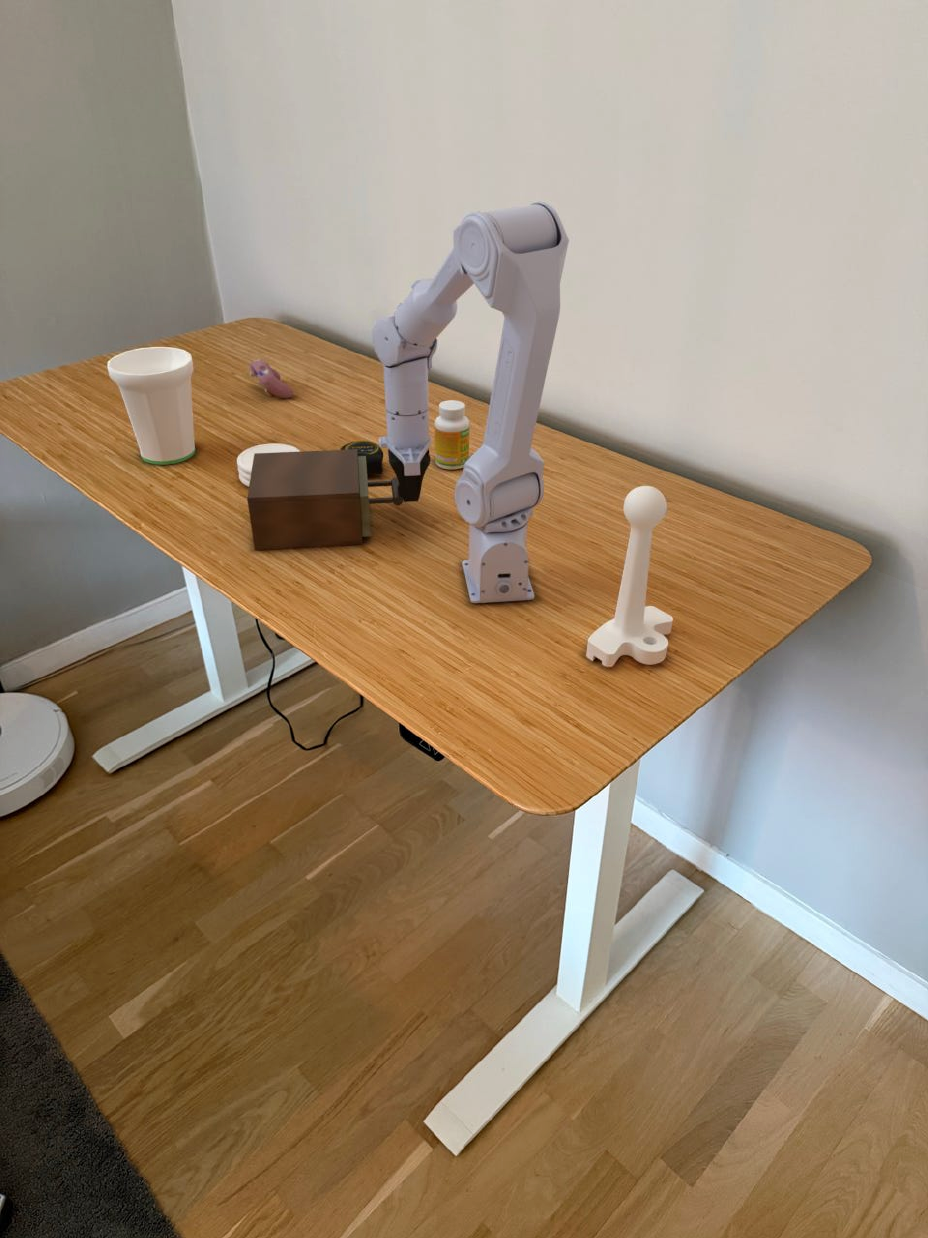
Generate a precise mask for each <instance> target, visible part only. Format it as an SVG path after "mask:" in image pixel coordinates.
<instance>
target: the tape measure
mask: <svg viewBox="0 0 928 1238" xmlns="http://www.w3.org/2000/svg"><path fill="white" fill-rule="evenodd" d="M347 449H357V457H358V456H366V466H367V476H368V475H382V474H383V472H384V467H383V461H384V451H383V449H382V447H379V444H377V443H376V442H374V441H373V442H372V441H368V440H357V441H350V442H347V443H345V444H344V445H342V446H341V447H340V448H339V450H347Z"/></svg>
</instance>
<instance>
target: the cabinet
mask: <svg viewBox="0 0 928 1238" xmlns="http://www.w3.org/2000/svg"><path fill="white" fill-rule="evenodd" d="M246 499H247V507H248V513H249V519H250V527H251V534H252V540H253V547H254V551H265V550H283V549H284V550H285V549H304V548H305V549H306V548H322V547H339V546H340V547H341V546H342V547H343V546H358V545H361V546H362V545H363V537H362V526H361V511H360V496H359V478H358V460H357V449H347V450H340V449H327V450H326V449H325V450H304V451H303V450H300V452H277V453H255V454H254V459H253V465H252V471H251V478H250V484H249V487H248V491H247V497H246Z"/></svg>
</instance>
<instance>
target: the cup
mask: <svg viewBox="0 0 928 1238" xmlns="http://www.w3.org/2000/svg"><path fill="white" fill-rule="evenodd" d="M106 366H107V372H108V376H109V378H110V380H112V381H113V382H114V383H115V384H116V385H117V386H118V389H119V392H120V395H121V398H122V401H123V404H124V406H125V407H124V408H125V410H126V412H127V416H128V418H129V421H130V424H131V427H132V430H133V433H134V436H135V439H136V442H137V445H138V447H139V453H140V456H141V459H142V460H143V461H144V462H145V463H148V464H152V465H158V466H166V465H174V464H179V463H182V462H185V461H187V460H189V459H191V458H192V457H193V456H194V455H195V453H196V445H195V427H194V411H193V395H192V394H193V393H192V376H193V373H194V371H195V369H194V362H193V357H192V354H190V353H189V352H187V350H184V349H182V348H181V349H180V348H176V347H170V346H169V347H168V346H152V347H141V348H135V349H131V350H126V351H124V352H121V353H119V354H116V355H114V356H113V357H112V358H110V359H109V360H108V361H107V365H106Z"/></svg>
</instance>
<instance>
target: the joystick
mask: <svg viewBox="0 0 928 1238" xmlns="http://www.w3.org/2000/svg"><path fill="white" fill-rule="evenodd" d="M667 504H668V503H667V499H666V497H665V495H664V494H663V493H662V492H661V490H660V489H658V488H656V487H654V486H651V485H640V486H637V487H635V488H633V489H632V490H631V491H630V492H628V494H627V495H626V497H625V499H624V502H623V514H624V517H625V518H626V520H627V521H628V522H629V525H630V526H629V527H630V533H629V539H628V544H627V549H626V554H625V555H626V556H625V559H624V565H623V571H622V576H621V580H620V586H619V592H618V597H617V602H616V608H615V613H614V617H613V618H611V619H609V620H607V621H606V622H605V623H603V624H602V625H600V627H598V628H597V629H596V630H595V631H593V633H592V634H591V635H590V636H589V637H588V638H587V645H586V653H585V655H586V659H588V660H590V661H591V662H594V660H595V659H596V658H597V659H598V660H600V661H601V665H602V666H604V667H607V668H610V667H614V665H615V664H616V662H617V660H619V658H621V656H629V657H632V658H633V659H634V661H637V662H638V663H640V664H642V665H649V666H651V665H652V666H653V665H657V664H660V663H663V661H664V660H665V659H666V657H667V653H668V647H669V646H668V645H669V640H668V638H667V637H666V636H665V635H669V634H671V633H672V627H673V623H674V618H673V617H672V616H671V615H669V613H666V612H664V611H663V610H661V609H659V608H657V607H656V606H653V605H647V606H646V599H647V588H648V580H649V579H648V578H649V568H650V560H651V559H650V558H651V549H652V540H653V539H652V537H653V530H654V528H655V527H656V526H657V525H659V524H660V523H661V522H662V521H663V520H664V518H665V516H666V514H667V511H668V510H667V509H668V505H667Z"/></svg>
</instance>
